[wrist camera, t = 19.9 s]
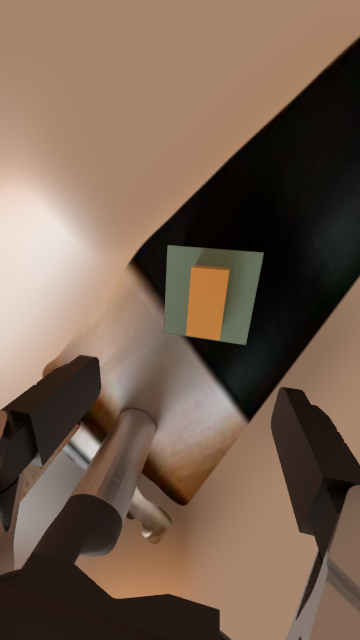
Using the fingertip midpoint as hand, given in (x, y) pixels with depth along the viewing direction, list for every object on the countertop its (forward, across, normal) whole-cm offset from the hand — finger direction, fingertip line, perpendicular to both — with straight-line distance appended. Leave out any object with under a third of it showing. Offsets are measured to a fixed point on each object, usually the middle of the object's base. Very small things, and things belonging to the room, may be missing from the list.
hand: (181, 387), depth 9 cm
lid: (+19, 0, 0) cm, 19 cm away
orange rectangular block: (+18, 0, 0) cm, 18 cm away
